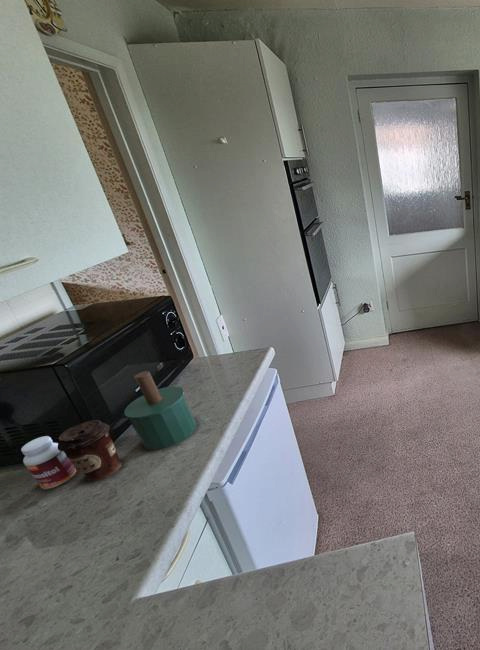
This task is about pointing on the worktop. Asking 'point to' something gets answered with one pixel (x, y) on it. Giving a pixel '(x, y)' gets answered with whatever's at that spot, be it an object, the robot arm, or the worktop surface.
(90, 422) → the brown jar
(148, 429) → the tin
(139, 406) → the tin lid
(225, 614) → the worktop surface
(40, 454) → the pill bottle
